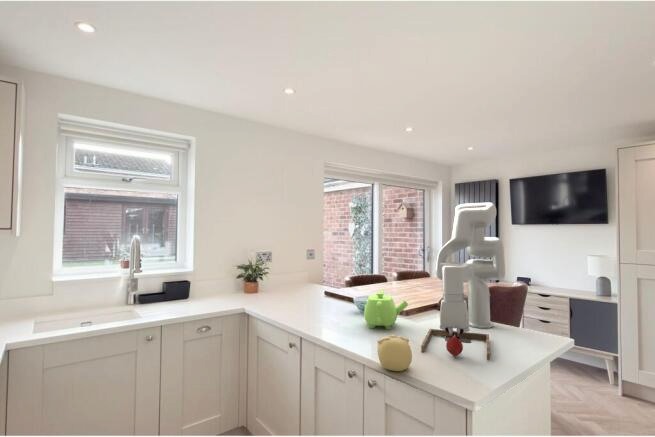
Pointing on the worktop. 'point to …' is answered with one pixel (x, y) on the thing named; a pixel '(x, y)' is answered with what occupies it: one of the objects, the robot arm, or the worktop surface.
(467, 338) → the wooden u-shaped frame
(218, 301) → the worktop surface
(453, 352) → the onion
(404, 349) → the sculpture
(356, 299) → the chinaware
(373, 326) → the teapot
